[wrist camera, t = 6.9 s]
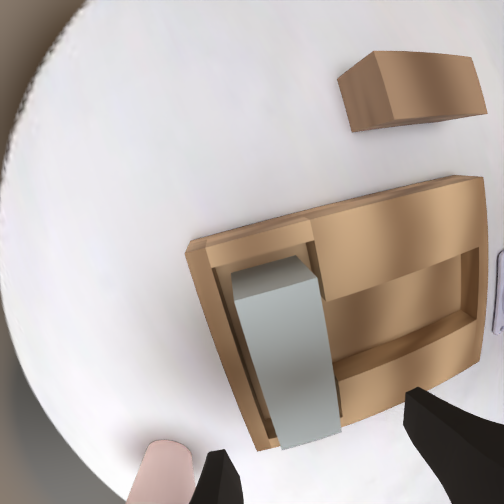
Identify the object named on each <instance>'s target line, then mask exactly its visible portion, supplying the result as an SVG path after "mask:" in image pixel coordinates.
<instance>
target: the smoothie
mask: <svg viewBox="0 0 504 504" xmlns="http://www.w3.org/2000/svg"><path fill="white" fill-rule="evenodd" d="M195 488H196V487H195V479H194V471H193V463H192V455H191V452H190V450H189V449H188V448H187V447H185V446H184V445H182V444H180V443H178V442H175V441H170V440H158V441H154V442H152V443H151V444H149V446H148V448H147V450H146V453H145V455H144V458H143V460H142V463H141V465H140V468H139V470H138V473H137V475H136V478H135V480H134V483H133V486H132V488H131V491H130V493H129V496H128V498H127V501H126V504H189V502H190V500H191V498H192V496H193V493H194V491H195Z"/></svg>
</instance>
